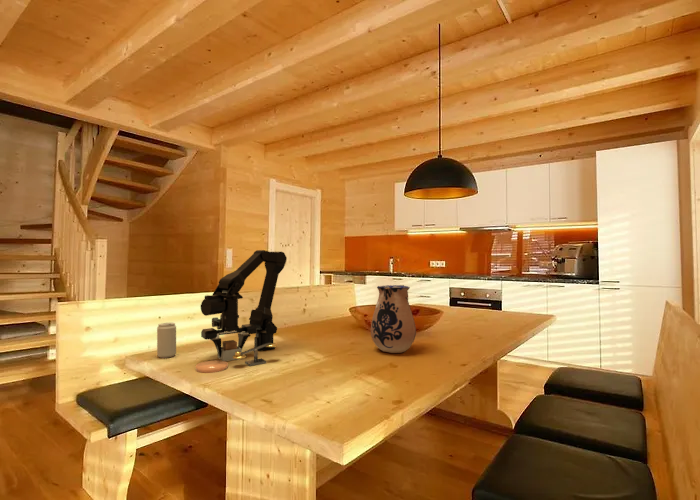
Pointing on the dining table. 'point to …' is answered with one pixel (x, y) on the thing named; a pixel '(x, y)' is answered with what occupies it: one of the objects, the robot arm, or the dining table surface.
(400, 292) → the ceramic pitcher
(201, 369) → the dish
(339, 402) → the dining table surface
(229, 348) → the block
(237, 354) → the balance
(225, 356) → the collar
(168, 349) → the beverage can
